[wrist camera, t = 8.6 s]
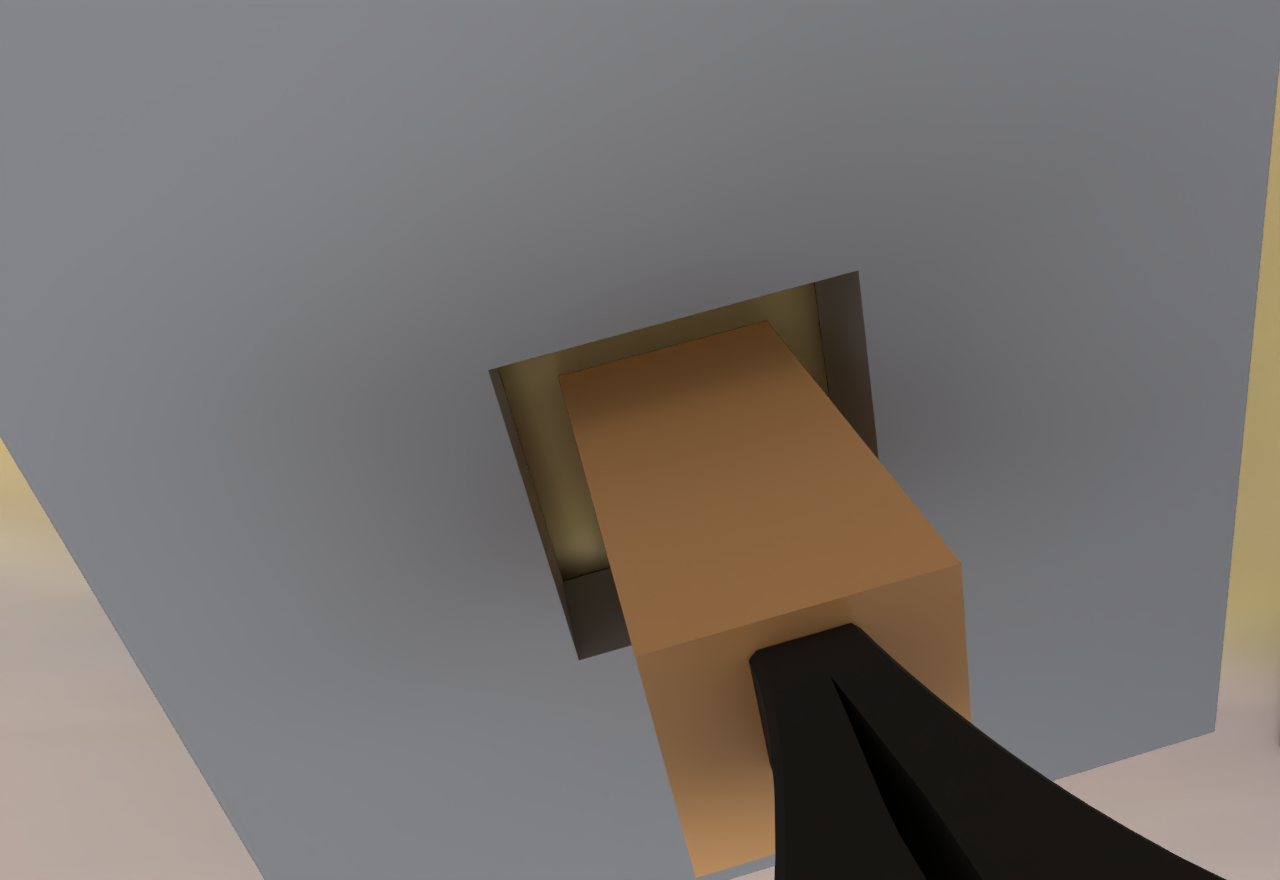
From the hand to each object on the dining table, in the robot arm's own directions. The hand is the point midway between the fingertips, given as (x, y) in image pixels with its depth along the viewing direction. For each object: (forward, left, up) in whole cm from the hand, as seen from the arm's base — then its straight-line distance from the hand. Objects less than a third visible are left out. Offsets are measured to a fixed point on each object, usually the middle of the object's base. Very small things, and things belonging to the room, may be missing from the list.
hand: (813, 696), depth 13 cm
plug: (0, +1, -8) cm, 8 cm away
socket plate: (0, 0, -8) cm, 8 cm away
